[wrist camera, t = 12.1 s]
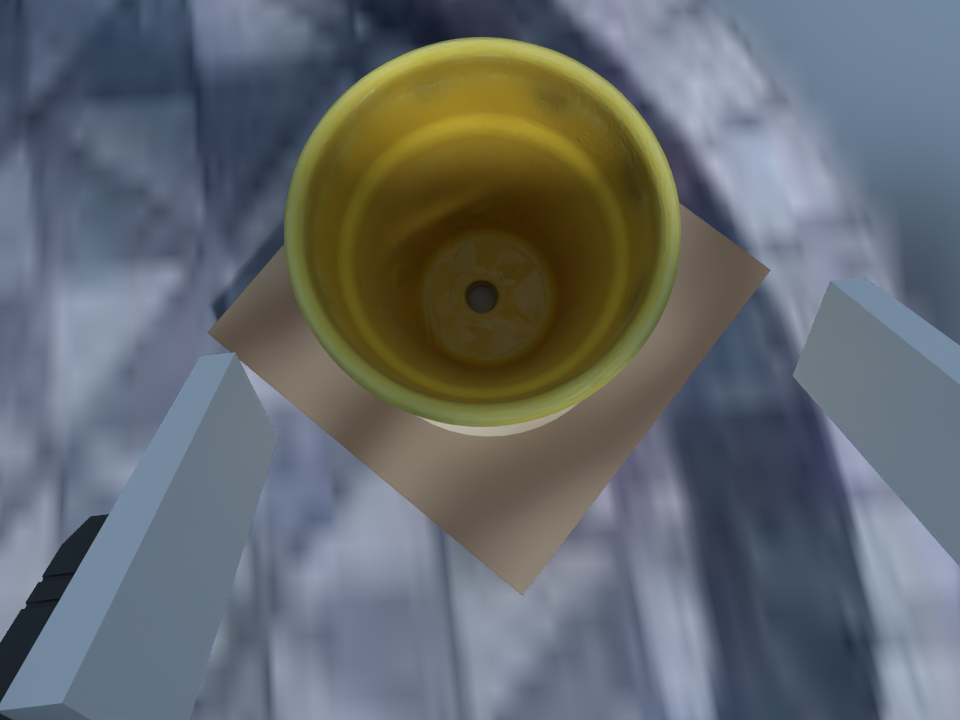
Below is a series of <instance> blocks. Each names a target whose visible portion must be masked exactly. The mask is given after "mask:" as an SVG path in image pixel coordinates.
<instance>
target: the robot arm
mask: <svg viewBox="0 0 960 720" xmlns="http://www.w3.org/2000/svg"><path fill="white" fill-rule="evenodd" d="M793 377H794V378H795V379H796V380H797V381H798V382H799V384H800V385H801V386H802V387H803V388H804V389H805V390H806V392H807V393H808V394H809V395H810V396H811V397H812V398H813V400H814V401H815V402H816V403H817V404H818V405H819V406H820V408H821V409H822V410H823V411H824V412H825V413H826V414H827V416H828V417H829V418H830V419H831V420H832V421H833V422H834V424H835V425H836V426H837V427H838V428H839V429H840V430H841V432H842V433H843V434H844V435H845V436H846V437H847V438H848V440H849V441H850V442H851V443H852V444H853V445H854V446H855V448H856V449H857V450H858V451H859V452H860V453H861V454H862V456H863V457H864V458H865V459H866V460H867V461H868V462H869V464H870V465H871V466H872V467H873V468H874V469H875V470H876V472H877V473H878V474H879V475H880V476H881V477H882V478H883V480H884V481H885V482H886V483H887V484H888V485H889V486H890V488H891V489H892V490H893V491H894V492H895V493H896V494H897V496H898V497H899V498H900V499H901V500H902V501H903V502H904V504H905V505H906V506H907V507H908V508H909V509H910V510H911V512H912V513H913V514H914V515H915V516H916V517H917V518H918V520H919V521H920V522H921V523H922V524H923V525H924V526H925V528H926V529H927V530H928V531H929V532H930V533H931V534H932V536H933V537H934V538H935V539H936V540H937V541H938V542H939V544H940V545H941V546H942V547H943V548H944V549H945V550H946V552H947V553H948V554H949V555H950V556H951V557H952V558H953V560H954V561H955V562H956V563H957V564H958V565H959V566H960V346H959V345H958V344H956V343H955V342H954V341H952V340H951V339H950V338H948V337H947V336H945V335H944V334H943V333H941V332H940V331H939V330H937V329H936V328H934V327H933V326H932V325H930V324H929V323H928V322H926V321H925V320H923V319H922V318H921V317H919V316H918V315H917V314H915V313H914V312H912V311H911V310H910V309H908V308H907V307H906V306H904V305H903V304H901V303H900V302H899V301H897V300H896V299H895V298H893V297H892V296H890V295H889V294H888V293H886V292H885V291H884V290H882V289H881V288H879V287H878V286H877V285H875V284H874V283H873V282H871V281H870V280H868V279H867V278H866V277H860V278H851V279H843V280H835V281H830V283H829V286H828V288H827V291H826V293H825V296H824V298H823V301H822V303H821V306H820V308H819V311H818V313H817V316H816V318H815V321H814V323H813V326H812V328H811V331H810V334H809V336H808V339H807V341H806V344H805V346H804V349H803V351H802V354H801V356H800V359H799V361H798V364H797V366H796V369H795V371H794V374H793ZM277 440H278V436H277V434H276V432H275V430H274V428H273V426H272V424H271V422H270V420H269V418H268V416H267V414H266V412H265V410H264V408H263V406H262V404H261V402H260V400H259V399H258V397H257V395H256V393H255V391H254V389H253V387H252V385H251V383H250V381H249V379H248V377H247V375H246V373H245V371H244V369H243V367H242V365H241V363H240V361H239V359H238V357H237V355H236V353H235V352H233V353H225V354H216V355H208V356H200V358H199V360H198V361H197V363H196V365H195V366H194V368H193V370H192V372H191V373H190V375H189V377H188V379H187V380H186V382H185V384H184V385H183V387H182V389H181V391H180V392H179V394H178V396H177V398H176V399H175V401H174V403H173V405H172V406H171V408H170V410H169V411H168V413H167V415H166V417H165V418H164V420H163V422H162V424H161V425H160V427H159V429H158V431H157V432H156V434H155V436H154V437H153V439H152V441H151V443H150V444H149V446H148V448H147V450H146V451H145V453H144V455H143V457H142V458H141V460H140V462H139V463H138V465H137V467H136V469H135V470H134V472H133V474H132V476H131V477H130V479H129V481H128V482H127V484H126V486H125V488H124V489H123V491H122V493H121V495H120V496H119V498H118V500H117V502H116V503H115V505H114V507H113V508H112V510H111V512H110V514H107V515H99V516H91V517H90V518H89V519H88V520H87V521H85V522H84V523H83V524H82V525H81V526H80V527H79V528H78V529H77V530H76V531H75V532H74V533H73V534H72V535H71V536H70V537H69V538H68V539H67V540H66V541H65V542H64V543H63V544H62V545H61V547H60V549H59V550H58V552H57V553H56V555H55V557H54V558H53V560H52V561H51V563H50V565H49V566H48V568H47V569H46V571H45V573H44V574H43V576H42V577H43V581H42V582H38V584H37V585H36V587H35V588H34V590H33V592H32V593H31V595H30V596H29V598H28V600H27V601H26V605H27V606H26V608H25V609H21V611H20V612H19V614H18V616H17V617H16V619H15V620H14V622H13V624H12V625H11V627H10V628H9V630H8V631H7V633H6V635H5V636H4V638H3V639H2V641H1V643H0V720H189V719H190V716H191V713H192V710H193V707H194V704H195V700H196V697H197V694H198V691H199V688H200V685H201V681H202V678H203V675H204V672H205V669H206V666H207V662H208V659H209V656H210V653H211V650H212V646H213V643H214V640H215V637H216V634H217V631H218V627H219V624H220V621H221V618H222V615H223V612H224V608H225V605H226V602H227V599H228V596H229V593H230V589H231V586H232V583H233V580H234V577H235V574H236V570H237V567H238V564H239V561H240V558H241V555H242V551H243V548H244V545H245V542H246V539H247V536H248V532H249V529H250V526H251V523H252V520H253V517H254V513H255V510H256V507H257V504H258V501H259V498H260V494H261V491H262V488H263V485H264V482H265V478H266V475H267V472H268V469H269V466H270V463H271V459H272V456H273V453H274V450H275V447H276V444H277Z"/></svg>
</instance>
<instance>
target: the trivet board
mask: <svg viewBox="0 0 960 720" xmlns="http://www.w3.org/2000/svg"><path fill="white" fill-rule="evenodd" d="M679 207H680V217H681V248H680V257H679V264H678V269H677V274H676V279H675V282H674V285H673V289H672V292H671V295H670V298H669V300H668V303H667V305H666V308H665V310H664V312H663V314H662V316H661V318H660V320H659V322H658V324H657V326H656V327H655V329H654V330H653V332H652V334H651V335H650V337H649V338H648V340H647V342H646V343H645V345H644V346H643V347H642V348H641V350H640V351H639V352H638V353H637V355H636V356H635V357H634V358H633V359H632V361H631V362H630V363H629V364H628V365H627V366H626V367H625V368H624V369H623V370H622V371H621V372H620V373H619V374H618V375H617V376H615V377H614V378H613V379H612V380H611V381H609V382H608V383H607V384H606V385H605V386H603V387H602V388H600V389H599V390H598V391H596V392H595V393H593V394H592V395H590V396H589V397H587V398H586V399H584V400H582V401H580V402H579V403H577V404H574V405H572V406H570V407H568V408H566V409H564V410H561V411H559V412H557V413H554V414H552V415H549V416H546V417H543V418H539V419H536V420H532V421H529V422H524V423H518V424H513V425H506V426H498V427H469V426H459V425H451V424H446V423H441V422H436V421H433V420H429V419H425V418H422V417H419V416H416V415H413V414H410V413H408V412H406V411H403V410H401V409H399V408H396V407H394V406H392V405H390V404H388V403H387V402H385V401H383V400H381V399H379V398H378V397H376V396H375V395H373V394H371V393H370V392H368V391H367V390H366V389H364V388H363V387H362V386H360V385H359V384H357V383H356V382H355V381H354V380H353V379H352V378H351V377H350V376H348V375H347V374H346V373H345V372H344V371H343V370H342V369H341V368H340V367H339V366H338V365H337V364H336V363H335V362H334V361H333V360H332V359H331V357H330V356H329V355H328V354H327V352H326V351H325V350H324V348H323V347H322V346H321V344H320V343H319V342H318V340H317V339H316V337H315V335H314V334H313V332H312V330H311V329H310V327H309V325H308V324H307V322H306V320H305V318H304V316H303V315H302V312H301V310H300V308H299V305H298V303H297V300H296V298H295V295H294V292H293V289H292V286H291V282H290V278H289V273H288V268H287V263H286V256H285V246H284V244H283V246H282V247H281V248H280V249H279V250H278V251H277V253H276V254H275V255H274V256H273V257H272V258H271V259H270V261H269V262H268V263H267V264H266V265H265V266H264V268H263V269H262V270H261V271H260V272H259V273H258V275H257V276H256V277H255V278H254V279H253V280H252V282H251V283H250V284H249V285H248V286H247V287H246V289H245V290H244V291H243V292H242V293H241V294H240V295H239V297H238V298H237V299H236V300H235V301H234V302H233V304H232V305H231V306H230V307H229V308H228V309H227V311H226V312H225V313H224V314H223V315H222V316H221V318H220V319H219V320H218V321H217V322H216V323H215V324H214V326H213V327H212V328H211V329H210V330H209V331H208V334H210V335H211V336H212V337H213V338H214V339H216V340H217V341H218V342H219V343H220V344H222V345H223V346H224V347H225V348H226V349H228V350H229V351H230V352H231V353H233V352H235V353H236V355H237V357H238V359H239V360H241V361H242V362H243V363H244V364H245V365H247V366H248V367H249V368H250V369H251V370H253V371H254V372H255V373H256V374H257V375H259V376H260V377H261V378H262V379H263V380H265V381H266V382H267V383H268V384H269V385H271V386H272V387H273V388H274V389H275V390H277V391H278V392H279V393H280V394H281V395H283V396H284V397H285V398H286V399H287V400H289V401H290V402H291V403H292V404H293V405H295V406H296V407H297V408H298V409H299V410H301V411H302V412H303V413H304V414H305V415H307V416H308V417H309V418H310V419H311V420H313V421H314V422H315V423H316V424H317V425H319V426H320V427H321V428H322V429H323V430H325V431H326V432H327V433H328V434H329V435H330V436H332V437H333V438H334V439H335V440H336V441H338V442H339V443H340V444H341V445H342V446H344V447H345V448H346V449H347V450H348V451H350V452H351V453H352V454H353V455H354V456H356V457H357V458H358V459H359V460H360V461H362V462H363V463H364V464H365V465H366V466H368V467H369V468H370V469H371V470H372V471H374V472H375V473H376V474H377V475H378V476H380V477H381V478H382V479H383V480H384V481H386V482H387V483H388V484H389V485H390V486H392V487H393V488H394V489H395V490H396V491H398V492H399V493H400V494H401V495H402V496H404V497H405V498H406V499H407V500H408V501H410V502H411V503H412V504H413V505H414V506H416V507H417V508H418V509H419V510H420V511H422V512H423V513H424V514H425V515H426V516H428V517H429V518H430V519H431V520H432V521H433V522H435V523H436V524H437V525H438V526H439V527H441V528H442V529H443V530H444V531H445V532H447V533H448V534H449V535H450V536H451V537H453V538H454V539H455V540H456V541H457V542H459V543H460V544H461V545H462V546H463V547H465V548H466V549H467V550H468V551H469V552H471V553H472V554H473V555H474V556H475V557H477V558H478V559H479V560H480V561H481V562H483V563H484V564H485V565H486V566H487V567H489V568H490V569H491V570H492V571H493V572H495V573H496V574H497V575H498V576H499V577H501V578H502V579H503V580H504V581H505V582H507V583H508V584H509V585H510V586H511V587H513V588H514V589H515V590H516V591H517V592H519V593H520V594H521V595H523V594H524V593H525V591H526V590H527V589H528V588H529V586H530V585H531V584H532V582H533V581H534V580H535V578H536V577H537V576H538V574H539V573H540V572H541V570H542V569H543V568H544V567H545V565H546V564H547V563H548V561H549V560H550V559H551V557H552V556H553V555H554V553H555V552H556V551H557V550H558V548H559V547H560V546H561V544H562V543H563V542H564V540H565V539H566V538H567V536H568V535H569V534H570V532H571V531H572V530H573V529H574V527H575V526H576V525H577V523H578V522H579V521H580V519H581V518H582V517H583V515H584V514H585V513H586V511H587V510H588V509H589V508H590V506H591V505H592V504H593V502H594V501H595V500H596V498H597V497H598V496H599V494H600V493H601V492H602V491H603V489H604V488H605V487H606V485H607V484H608V483H609V481H610V480H611V479H612V477H613V476H614V475H615V473H616V472H617V471H618V470H619V468H620V467H621V466H622V464H623V463H624V462H625V460H626V459H627V458H628V456H629V455H630V454H631V453H632V451H633V450H634V449H635V447H636V446H637V445H638V443H639V442H640V441H641V439H642V438H643V437H644V435H645V434H646V433H647V432H648V430H649V429H650V428H651V426H652V425H653V424H654V422H655V421H656V420H657V418H658V417H659V416H660V415H661V413H662V412H663V411H664V409H665V408H666V407H667V405H668V404H669V403H670V401H671V400H672V399H673V397H674V396H675V395H676V394H677V392H678V391H679V390H680V388H681V387H682V386H683V384H684V383H685V382H686V380H687V379H688V378H689V377H690V375H691V374H692V373H693V371H694V370H695V369H696V367H697V366H698V365H699V363H700V362H701V361H702V359H703V358H704V357H705V356H706V354H707V353H708V352H709V350H710V349H711V348H712V346H713V345H714V344H715V342H716V341H717V340H718V339H719V337H720V336H721V335H722V333H723V332H724V331H725V329H726V328H727V327H728V325H729V324H730V323H731V321H732V320H733V319H734V318H735V316H736V315H737V314H738V312H739V311H740V310H741V308H742V307H743V306H744V304H745V303H746V302H747V301H748V299H749V298H750V297H751V295H752V294H753V293H754V291H755V290H756V289H757V287H758V286H759V285H760V283H761V282H762V281H763V280H764V278H765V277H766V276H767V274H768V273H769V272H770V269H768V268H767V267H766V266H764V265H763V264H762V263H760V262H759V261H758V260H756V259H755V258H753V257H752V256H751V255H749V254H748V253H747V252H745V251H744V250H743V249H741V248H740V247H739V246H737V245H736V244H734V243H733V242H732V241H730V240H729V239H728V238H726V237H725V236H724V235H722V234H721V233H720V232H718V231H717V230H715V229H714V228H713V227H711V226H710V225H709V224H707V223H706V222H705V221H703V220H702V219H701V218H699V217H698V216H696V215H695V214H694V213H692V212H691V211H690V210H688V209H687V208H686V207H684V206H683V205H682V204H680V203H679ZM468 302H469V304H470V306H471V307H472V308H473V309H474V310H475V311H478V312H487V311H490V310H491V309H492V308H493V307H494V305H495V304H496V294H495V292H494V291H493V289H492V288H490V287H489V286H486V285H477V286H475V287H473V288H472V289H471V290H470V292H469V294H468Z"/></svg>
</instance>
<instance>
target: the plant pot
mask: <svg viewBox="0 0 960 720" xmlns="http://www.w3.org/2000/svg"><path fill="white" fill-rule="evenodd" d="M284 246H285V256H286V263H287V268H288V273H289V278H290V282H291V286H292V289H293V292H294V295H295V298H296V300H297V303H298V305H299V308H300V310H301V312H302V315H303V316H304V318H305V320H306V322H307V324H308V325H309V327H310V329H311V330H312V332H313V334H314V335H315V337H316V339H317V340H318V342H319V343H320V344H321V346H322V347H323V348H324V350H325V351H326V352H327V354H328V355H329V356H330V357H331V359H332V360H333V361H334V362H335V363H336V364H337V365H338V366H339V367H340V368H341V369H342V370H343V371H344V372H345V373H346V374H347V375H348V376H350V377H351V378H352V379H353V380H354V381H355V382H356V383H357V384H359V385H360V386H362V387H363V388H364V389H366V390H367V391H368V392H370V393H371V394H373V395H375V396H376V397H378V398H379V399H381V400H383V401H385V402H387V403H388V404H390V405H392V406H394V407H396V408H399V409H401V410H403V411H406V412H408V413H410V414H413V415H416V416H419V417H422V418H425V419H429V420H433V421H436V422H441V423H446V424H451V425H459V426H469V427H498V426H506V425H513V424H518V423H524V422H529V421H532V420H536V419H539V418H543V417H546V416H549V415H552V414H554V413H557V412H559V411H561V410H564V409H566V408H568V407H570V406H572V405H574V404H577V403H579V402H580V401H582V400H584V399H586V398H587V397H589V396H590V395H592V394H593V393H595V392H596V391H598V390H599V389H600V388H602V387H603V386H605V385H606V384H607V383H608V382H609V381H611V380H612V379H613V378H614V377H615V376H617V375H618V374H619V373H620V372H621V371H622V370H623V369H624V368H625V367H626V366H627V365H628V364H629V363H630V362H631V361H632V359H633V358H634V357H635V356H636V355H637V353H638V352H639V351H640V350H641V348H642V347H643V346H644V345H645V343H646V342H647V340H648V338H649V337H650V335H651V334H652V332H653V330H654V329H655V327H656V326H657V324H658V322H659V320H660V318H661V316H662V314H663V312H664V310H665V308H666V305H667V303H668V300H669V298H670V295H671V292H672V289H673V285H674V282H675V279H676V274H677V269H678V264H679V257H680V248H681V217H680V207H679V199H678V194H677V190H676V186H675V182H674V179H673V175H672V172H671V169H670V167H669V164H668V161H667V159H666V156H665V154H664V152H663V150H662V148H661V146H660V144H659V142H658V141H657V139H656V137H655V135H654V133H653V132H652V130H651V129H650V127H649V126H648V124H647V123H646V121H645V120H644V119H643V117H642V116H641V115H640V114H639V112H638V111H637V110H636V109H635V107H634V106H633V105H632V104H631V103H630V102H629V101H628V100H627V99H626V98H625V96H624V95H623V94H622V93H621V92H619V91H618V90H617V89H616V88H615V87H614V86H613V85H612V84H611V83H609V82H608V81H607V80H605V79H604V78H603V77H601V76H600V75H599V74H597V73H596V72H594V71H593V70H591V69H590V68H588V67H587V66H585V65H583V64H581V63H580V62H578V61H576V60H574V59H572V58H570V57H568V56H566V55H564V54H561V53H559V52H556V51H554V50H551V49H548V48H545V47H542V46H538V45H535V44H531V43H527V42H522V41H516V40H511V39H505V38H490V37H474V38H460V39H453V40H447V41H443V42H439V43H435V44H431V45H427V46H424V47H421V48H418V49H415V50H412V51H410V52H407V53H405V54H403V55H401V56H398V57H396V58H394V59H392V60H390V61H388V62H386V63H384V64H382V65H380V66H379V67H377V68H376V69H374V70H372V71H371V72H369V73H368V74H367V75H365V76H364V77H363V78H361V79H360V80H359V81H358V82H356V83H355V84H354V85H353V86H351V87H350V88H349V89H348V90H346V91H345V92H344V93H343V94H342V95H341V96H340V97H339V99H338V100H337V101H336V102H335V103H334V104H333V105H332V106H331V107H330V108H329V110H328V111H327V112H326V113H325V115H324V116H323V117H322V118H321V120H320V121H319V123H318V124H317V126H316V127H315V129H314V130H313V131H312V133H311V135H310V136H309V138H308V140H307V141H306V143H305V145H304V147H303V150H302V152H301V154H300V156H299V158H298V161H297V163H296V166H295V169H294V172H293V174H292V178H291V182H290V186H289V190H288V196H287V201H286V208H285V216H284ZM477 285H486V286H489V287H490V288H492V289H493V291H494V292H495V294H496V304H495V305H494V307H493V308H492V309H491V310H490V311H487V312H478V311H475V310H474V309H473V308H472V307H471V306H470V304H469V302H468V294H469V292H470V290H471V289H472V288H473V287H475V286H477Z"/></svg>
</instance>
